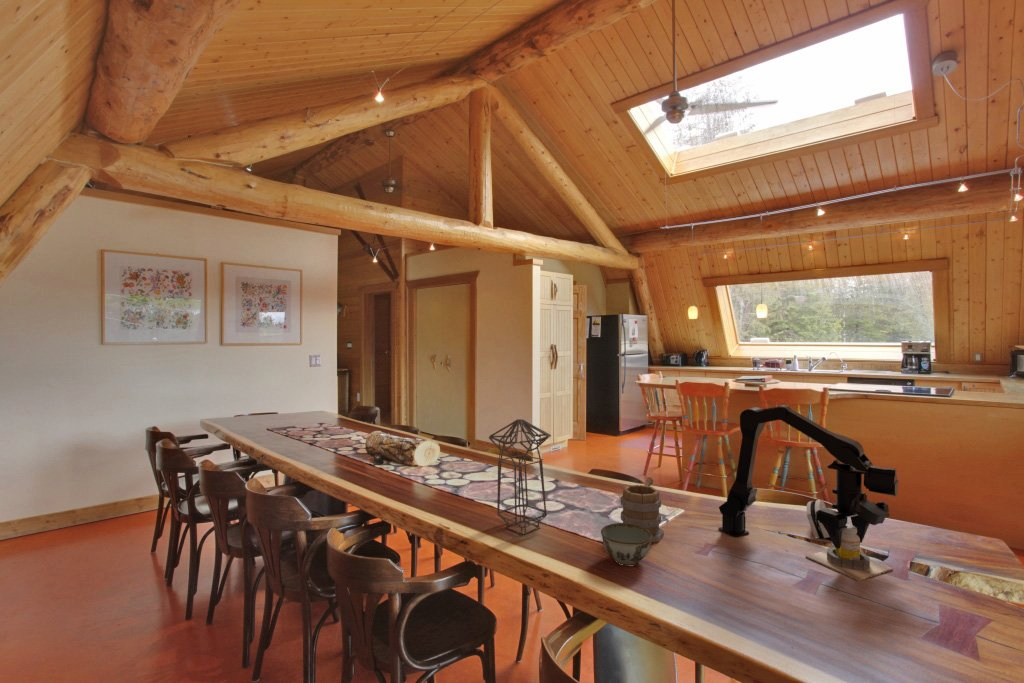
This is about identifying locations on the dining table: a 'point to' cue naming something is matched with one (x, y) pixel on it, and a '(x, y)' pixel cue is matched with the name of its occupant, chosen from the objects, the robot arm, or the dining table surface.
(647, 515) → the tankard
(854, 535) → the supplement bottle
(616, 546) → the bowl
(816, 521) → the grey piece
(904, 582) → the dining table surface
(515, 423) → the geometric lantern
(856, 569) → the ring holder
